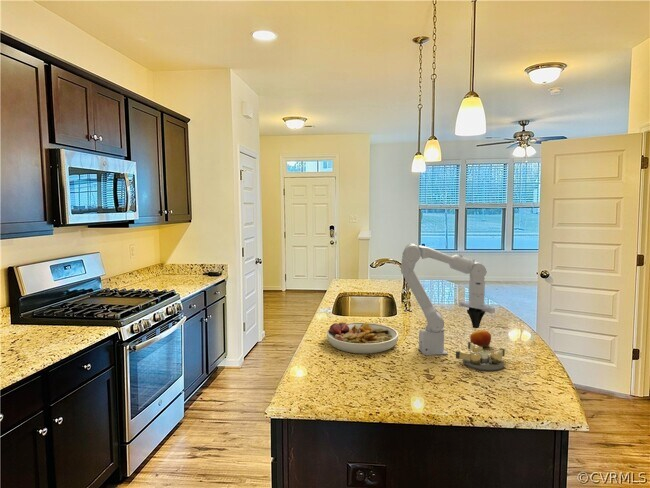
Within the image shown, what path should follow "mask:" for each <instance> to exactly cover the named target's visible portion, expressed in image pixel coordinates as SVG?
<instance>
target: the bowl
mask: <svg viewBox="0 0 650 488" xmlns="http://www.w3.org/2000/svg"><path fill="white" fill-rule="evenodd" d="M326 338H327V339H326V340H327V341H328V342H329V344H330V345H331V346H332V347H334V348H335V349H338V350H339V351H342V352H347V353H352V354H358V355H361V354H363V355H364V354H365V355H366V354H378V353H382V352H386V351H388V350H390V349H391V348H392V349H393V347H394V346H395V345H396V344H397V342H398V340H399V333H398V330H396V329H395V328H393V327H391V326H387V325H384V324H379V323H373V322H371V323H370V322H350V323H345V322H339V323H332V324H331V325H330V326H329V329H328V330H327V331H326Z"/></svg>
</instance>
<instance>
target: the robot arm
mask: <svg viewBox="0 0 650 488" xmlns="http://www.w3.org/2000/svg"><path fill="white" fill-rule="evenodd" d="M428 258H430V259H431V260H436V261H439V262H442V263H445V264H448V265H449V267H450V269H452V270H455V271H457V272H460V273H462V274H465V275H468V274H469V280H468V301H465V300H460V301H458V302H459V304H458V306H459V307H464V308H467V310H466V312H467V314H468V316H469V318H470V321H471V325H472V329H479V328H480V325H481V322H482V320H483V318H484V315H485V314H486V313H489V314H494V313H495V312H496V311H495V310H496V308H495V307H493V306H489V305H488V304H485V295H486V294H485V290H486V289H485V288H486V287H485V285H486V283H485V282H486V281H485V277H486V275H487V268H486V266H485V265H483V263H481V262H479V260H475V259H473V258H472V259H470V258H467V257H465V256H464V255H463V254H454V255H449V254H446V253H444V252H441V251H439V250H437V249H433V248H431V247H429V246H424V245H417V244H415V243H409V244H406V246H405V247H404V250H403V252H402V258H401V264H400V271H401V275H402V276H403V278H404V279H405V282H406V284H407V285H408V287H409V289H410V291H411V292H412V294H413V296H414V298H415V299H416V301H417V303H418V305H419V306H420V308H421V310H422V312H423V315H424V317H425V318H426V319H425V320H426V324H427V325H426V326H425V327H424V329H421V330H419V331H418V332H419V333H418V347H417V348H418V350H419V351H420V352H421V353H422V354H423V355H424V356H432V355H433V356H435V355H437V356H438V355H448V354H449V353H448V352H447V350H445V328H444V327H445V321H444V319H443V315H442V313H441V312H440V311H439V310H437V309H436V308H435V306H434V304H433V303H432V301H431V299H430V297H429V296H428V294H427V292H426V289H424V286H423V284H422V283H421V281H420V279H419V277H418V276H417V274H416V272H415V271H414V269H415V267H416V264H417V262H418V261H419V260H420V259H421V260H425V259H428Z"/></svg>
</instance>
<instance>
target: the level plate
mask: <svg viewBox="0 0 650 488" xmlns="http://www.w3.org/2000/svg"><path fill="white" fill-rule="evenodd" d="M477 353H480V354H481V364H472V363H470V361H469V360H464V359H462V364H463V365H464V366H466V367H468V369H473V370H476V371H481V372H498V371H501V370H503V369H504V367H505V363H504V361H503V360H502V363H499V364H497V363H493V362H491V352H489V351H487V350H483V351H477Z"/></svg>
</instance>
